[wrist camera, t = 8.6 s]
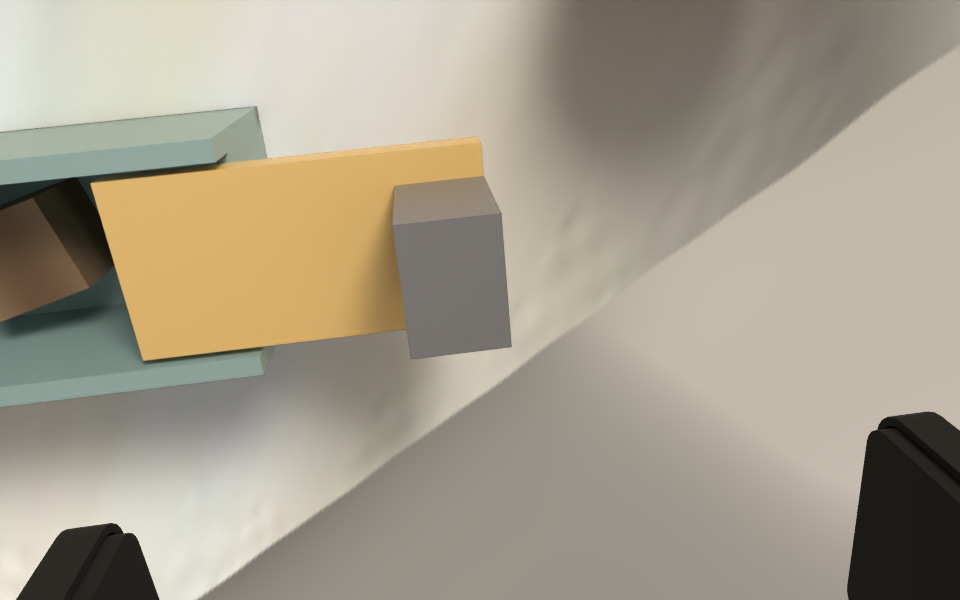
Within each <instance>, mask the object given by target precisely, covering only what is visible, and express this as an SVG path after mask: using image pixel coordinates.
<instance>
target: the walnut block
mask: <svg viewBox="0 0 960 600" xmlns="http://www.w3.org/2000/svg"><path fill="white" fill-rule="evenodd" d="M113 266H114V261H113V258H112V255H111V251H110V248H109V244H108V241H107V238H106V234H105V231H104V228H103V224H102V221H101V218H100V215H99V213H98V211H97V210H96V208H95V206H94V205H93V203H92V201H91V200H90V198H89V196H88V195H87V193H86V191H85V190H84V188H83V186H82V185H81V183H80V181H79V180H78V178H77V177H71V178H68V179H66V180H63V181H61V182H58V183H56V184H53V185H51V186H48V187H45V188H43V189H40V190H38V191H35V192H33V193H30V194H28V195H25V196H23V197H20V198H17V199H15V200H12V201H10V202H7V203H5V204H2V205H0V322H2V321H5V320H7V319H10V318H12V317H15V316H18V315H20V314H23V313H25V312H28V311H31V310H33V309H36V308H38V307H41V306H44V305H46V304H49V303H51V302H54V301H57V300H59V299H62V298H64V297H67V296H70V295H72V294H75V293H77V292H80V291H83V290H85V289H88V288H90V287H91V286H92V285H93V284H94V283H95V282H97V281H98V280H99V279H100V278H101V277H102V276H103V275H104V274H105V273H106V272H108V271H109V270H110V269H111V268H112V267H113Z"/></svg>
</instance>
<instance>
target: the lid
mask: <svg viewBox="0 0 960 600" xmlns="http://www.w3.org/2000/svg"><path fill="white" fill-rule="evenodd" d="M90 184H91V187H92V191H93V194H94V197H95V201H96V204H97V208H98V211H99V214H100V218H101V221H102V224H103V228H104V231H105V234H106V238H107V241H108V244H109V248H110V251H111V255H112V258H113V261H114V265H115V268H116V271H117V275H118V278H119V281H120V285H121V288H122V291H123V295H124V298H125V302H126V305H127V308H128V312H129V315H130V318H131V322H132V325H133V328H134V332H135V335H136V338H137V342H138V345H139V348H140V352H141V355H142V359H143V361H146V360H154V359H162V358H171V357H179V356H187V355H196V354H204V353H212V352H221V351H229V350H237V349H246V348H254V347H263V346H271V345H279V344H288V343H296V342H304V341H313V340H321V339H329V338H338V337H346V336H355V335H363V334H371V333H380V332H388V331H396V330H405V329H407V334H408V341H409V348H410V356H411V359H418V358H427V357H435V356H443V355H451V354H459V353H468V352H476V351H484V350H492V349H500V348H509V347H512V345H511V332H510V319H509V306H508V293H507V280H506V267H505V254H504V241H503V228H502V215H501V211H500V209H499V207H498V205H497V203H496V201H495V199H494V197H493V194H492V192H491V190H490V188H489V186H488V184H487V182H486V180H485V178H484V173H483V161H482V149H481V142H480V140H479V138H478V137H469V138H459V139H450V140H440V141H430V142H421V143H411V144H402V145H392V146H383V147H373V148H364V149H354V150H344V151H335V152H325V153H316V154H306V155H297V156H287V157H278V158H268V159H259V160H249V161H239V162H230V163H220V164H211V165H201V166H192V167H182V168H173V169H163V170H154V171H144V172H134V173H125V174H115V175H106V176H102V177H101V178H99V179H97V180H95V181H94V182H92V183H90Z"/></svg>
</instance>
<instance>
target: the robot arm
mask: <svg viewBox="0 0 960 600" xmlns="http://www.w3.org/2000/svg"><path fill="white" fill-rule="evenodd" d="M847 593H848V599H849V600H960V431H959V430H958V429H957V428H956V427H954V426H953V425H952V424H950V423H949V422H948V421H947V420H945V419H944V418H943V417H942V416H940V415H938V414H936V413H934V412H921V413H914V414H906V415H899V416H892V417H887V418H885V419H883V420H882V421H881V423H880V424H879V426H878V430H875V431H872V432H871V433H870V434H869V436H868V440H867V445H866V453H865V460H864V467H863V475H862V482H861V489H860V497H859V505H858V511H857V519H856V526H855V534H854V541H853V548H852V556H851V563H850V571H849V578H848V585H847ZM16 600H159V597H158V594H157V592H156V589H155V586H154V583H153V581H152V578H151V575H150V572H149V569H148V567H147V564H146V561H145V558H144V555H143V553H142V550H141V547H140V544H139V542H138V540H137V538H136V536H135V535H134V534H132V533H125V534H124V533H123V531H122V529H121V528H120V527H119V526H118V525H117V524H113V523H109V524H102V525H95V526H87V527H80V528H73V529H67V530H65V531H62V532H61V533H60V534H59V535H58V537H57V538H56V539H55V541H54V542H53V544H52V545H51V547H50V548H49V550H48V551H47V553H46V554H45V556H44V558H43V559H42V561H41V562H40V564H39V565H38V567H37V568H36V570H35V571H34V573H33V574H32V576H31V578H30V579H29V581H28V582H27V584H26V585H25V587H24V588H23V590H22V591H21V593H20V594H19V596H18V598H17V599H16Z"/></svg>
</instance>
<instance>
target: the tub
mask: <svg viewBox="0 0 960 600" xmlns="http://www.w3.org/2000/svg"><path fill="white" fill-rule="evenodd" d="M259 159H267V155H266V150H265V145H264V140H263V135H262V130H261V125H260V120H259V115H258V110H257V106H255V107H245V108H235V109H225V110H215V111H205V112H195V113H185V114H175V115H165V116H155V117H145V118H135V119H125V120H116V121H106V122H96V123H86V124H76V125H66V126H56V127H46V128H36V129H26V130H16V131H6V132H0V205H2V204H5V203H7V202H10V201H12V200H15V199H17V198H20V197H23V196H25V195H28V194H30V193H33V192H35V191H38V190H40V189H43V188H45V187H48V186H51V185H53V184H56V183H58V182H61V181H63V180H66V179H68V178H71V177H77V178H78V180H79V181H80V183H81V185H82V186H83V188H84V190H85V191H86V193H87V195H88V196H89V198H90V200H91V201H92V203H93V205H94V206H95V208H96V210H97V211H98V208H97V204H96V201H95V197H94V194H93V191H92V187H91V184H90V183H92V182H94V181H95V180H97V179H99V178H101V177H102V176H106V175H115V174H125V173H134V172H144V171H154V170H163V169H173V168H182V167H192V166H201V165H211V164H220V163H230V162H239V161H249V160H259ZM98 213H99V211H98ZM99 215H100V214H99ZM274 347H275V345H271V346H263V347H254V348H246V349H237V350H229V351H221V352H212V353H204V354H196V355H187V356H179V357H171V358H162V359H154V360H146V361H143V359H142V355H141V352H140V348H139V345H138V342H137V338H136V335H135V332H134V328H133V325H132V322H131V318H130V315H129V312H128V308H127V305H126V302H125V298H124V295H123V291H122V288H121V285H120V281H119V278H118V275H117V271H116V268H115V265H114V266H113V267H112V268H111V269H110V270H109V271H108V272H106V273H105V274H104V275H103V276H102V277H101V278H100V279H99V280H98V281H97V282H95V283H94V284H93V285H92V286H91V287H90V288H88V289H85V290H83V291H80V292H77V293H75V294H72V295H70V296H67V297H64V298H62V299H59V300H57V301H54V302H51V303H49V304H46V305H44V306H41V307H38V308H36V309H33V310H31V311H28V312H25V313H23V314H20V315H18V316H15V317H12V318H10V319H7V320H5V321H2V322H0V407H5V406H13V405H21V404H29V403H37V402H46V401H54V400H62V399H70V398H78V397H87V396H95V395H103V394H111V393H119V392H128V391H136V390H144V389H152V388H161V387H169V386H177V385H185V384H193V383H202V382H210V381H218V380H226V379H234V378H243V377H251V376H259V375H264V374H265V371H266V368H267V366H268V363H269V360H270V358H271V355H272V352H273V350H274Z"/></svg>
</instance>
